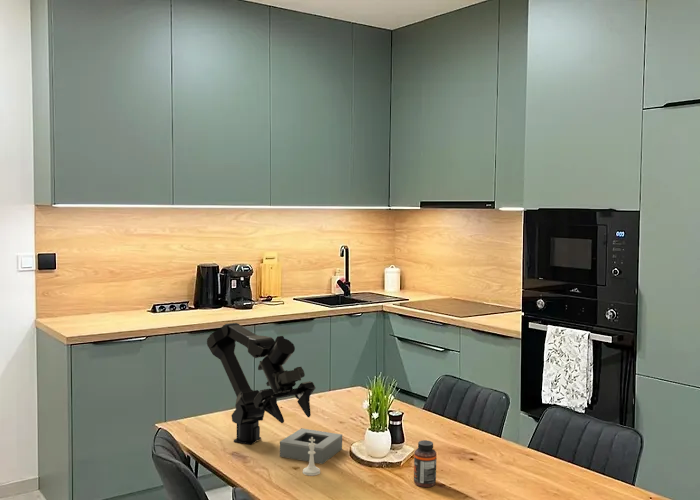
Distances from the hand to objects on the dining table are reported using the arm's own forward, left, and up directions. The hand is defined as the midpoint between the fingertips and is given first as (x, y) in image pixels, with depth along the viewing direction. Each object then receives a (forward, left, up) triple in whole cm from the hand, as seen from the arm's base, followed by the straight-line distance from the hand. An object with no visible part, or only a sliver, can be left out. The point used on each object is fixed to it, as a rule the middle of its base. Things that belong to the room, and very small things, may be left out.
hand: (296, 419), depth 199 cm
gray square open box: (0, +11, -13) cm, 17 cm away
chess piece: (+7, -3, -13) cm, 15 cm away
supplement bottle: (+38, +3, -13) cm, 40 cm away
